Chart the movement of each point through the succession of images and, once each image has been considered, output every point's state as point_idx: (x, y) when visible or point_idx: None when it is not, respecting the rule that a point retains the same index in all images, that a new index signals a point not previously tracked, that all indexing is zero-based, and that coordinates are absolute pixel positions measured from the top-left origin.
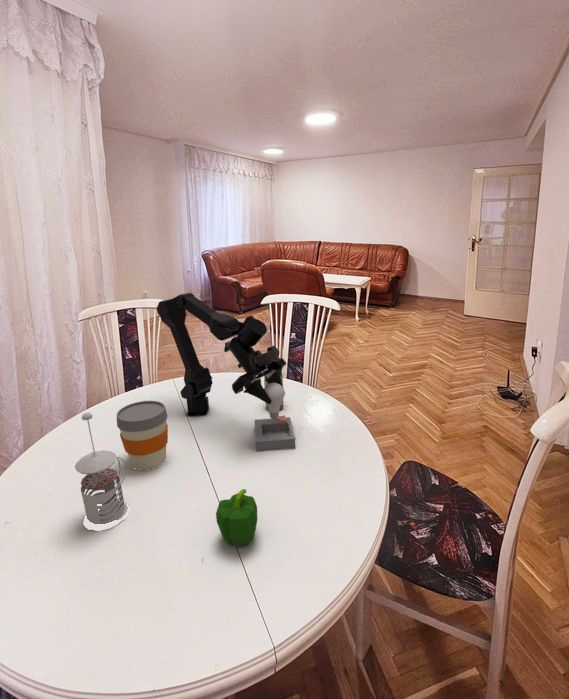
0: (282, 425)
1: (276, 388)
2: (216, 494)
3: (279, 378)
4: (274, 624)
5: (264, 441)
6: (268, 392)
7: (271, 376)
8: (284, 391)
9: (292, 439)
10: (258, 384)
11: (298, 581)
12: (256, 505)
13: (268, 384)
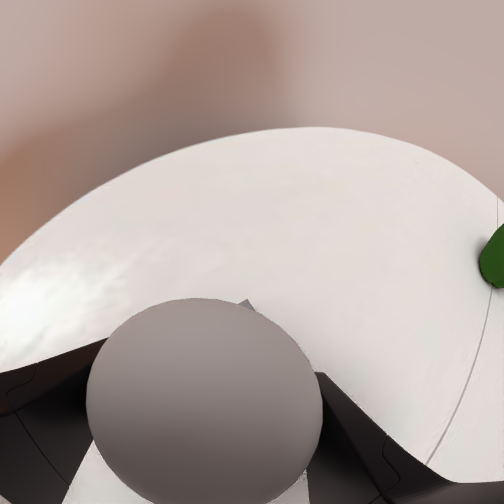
0: None
1: (257, 338)
2: (472, 366)
3: (2, 385)
4: (493, 199)
5: None
6: (320, 417)
7: (7, 488)
8: (105, 338)
9: (252, 307)
10: (465, 490)
11: (469, 191)
12: (502, 228)
13: (211, 490)
